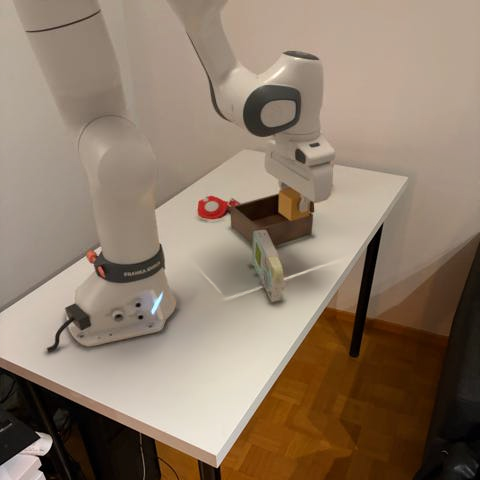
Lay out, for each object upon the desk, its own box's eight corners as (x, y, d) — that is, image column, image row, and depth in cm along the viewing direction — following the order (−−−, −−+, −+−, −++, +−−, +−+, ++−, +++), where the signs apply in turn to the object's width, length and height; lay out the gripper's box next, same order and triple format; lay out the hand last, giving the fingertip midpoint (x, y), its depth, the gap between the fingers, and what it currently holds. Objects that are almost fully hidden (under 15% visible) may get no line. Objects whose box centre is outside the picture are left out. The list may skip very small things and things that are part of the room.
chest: (259, 253, 118) (259, 230, 114) (230, 228, 128) (230, 206, 124) (311, 236, 123) (313, 214, 119) (280, 213, 133) (281, 192, 129)
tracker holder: (204, 221, 128) (189, 199, 133) (207, 232, 132) (192, 210, 137) (244, 202, 130) (228, 181, 135) (246, 214, 134) (230, 193, 139)
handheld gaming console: (269, 310, 104) (250, 266, 113) (282, 308, 104) (262, 264, 114) (273, 271, 95) (252, 227, 105) (286, 269, 96) (264, 225, 106)
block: (290, 221, 105) (291, 199, 101) (278, 212, 108) (278, 191, 105) (309, 215, 106) (311, 194, 103) (296, 206, 110) (297, 185, 107)
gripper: (257, 130, 103) (257, 191, 112) (313, 161, 89) (308, 228, 98) (282, 124, 105) (280, 184, 114) (341, 154, 91) (333, 220, 100)
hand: (294, 205), depth 106 cm, fingers closed on block, 5 cm apart
